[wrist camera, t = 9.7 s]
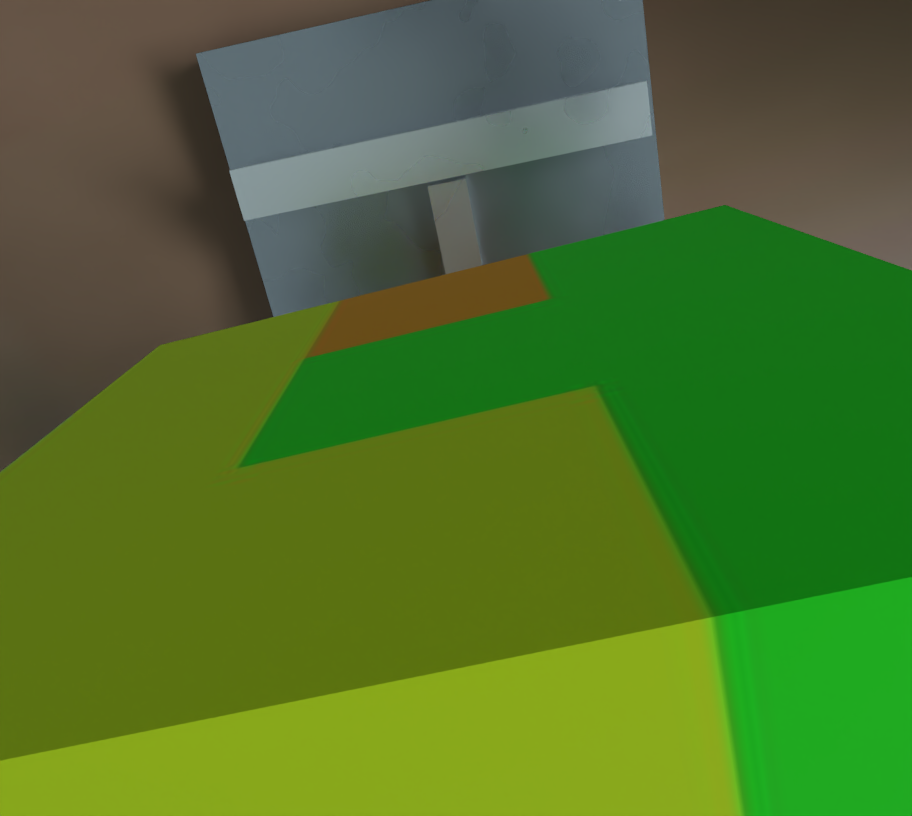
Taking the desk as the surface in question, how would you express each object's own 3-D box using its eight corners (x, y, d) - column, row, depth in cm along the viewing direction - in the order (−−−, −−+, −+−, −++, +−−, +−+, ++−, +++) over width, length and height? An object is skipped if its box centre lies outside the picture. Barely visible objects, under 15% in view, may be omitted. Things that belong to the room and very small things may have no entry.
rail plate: (210, 56, 20) (170, 48, 17) (627, -39, 19) (656, -62, 17) (385, 661, 27) (377, 724, 25) (695, 610, 27) (723, 669, 24)
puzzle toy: (329, 763, 17) (176, 1548, 8) (160, 345, 14) (-488, 858, 4) (781, 677, 16) (1219, 1441, 7) (725, 205, 13) (1464, 466, 3)
